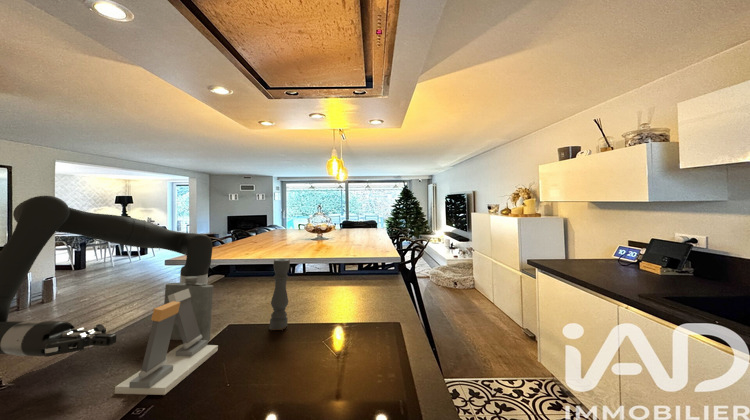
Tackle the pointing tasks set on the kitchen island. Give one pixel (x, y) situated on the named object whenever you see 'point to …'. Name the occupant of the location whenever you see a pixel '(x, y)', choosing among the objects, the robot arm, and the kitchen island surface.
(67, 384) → the kitchen island surface
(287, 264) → the candle holder
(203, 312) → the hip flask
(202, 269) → the robot arm
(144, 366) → the orange lever
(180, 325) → the grey lever
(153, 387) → the switch panel
